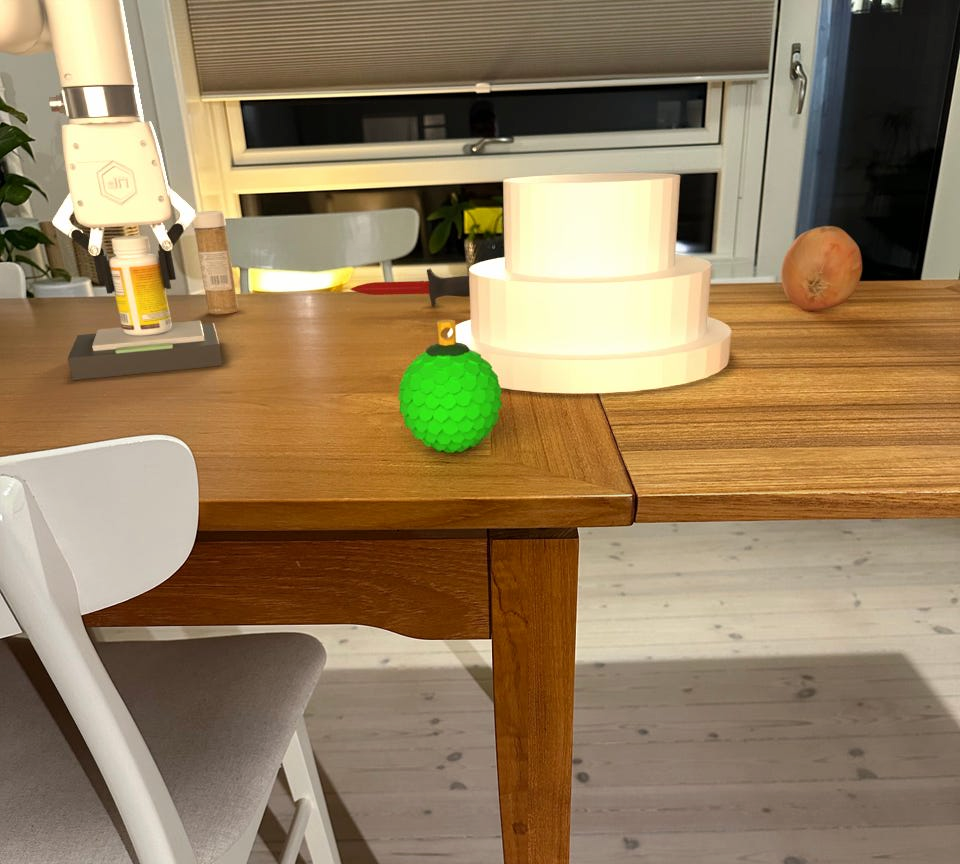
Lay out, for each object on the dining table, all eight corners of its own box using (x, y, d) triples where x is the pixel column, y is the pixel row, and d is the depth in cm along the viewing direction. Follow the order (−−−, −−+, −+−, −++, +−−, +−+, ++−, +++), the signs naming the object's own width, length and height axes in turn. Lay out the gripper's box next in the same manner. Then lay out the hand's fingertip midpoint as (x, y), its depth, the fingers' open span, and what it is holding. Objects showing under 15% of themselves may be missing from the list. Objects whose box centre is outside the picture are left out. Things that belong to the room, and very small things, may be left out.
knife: (514, 302, 137) (514, 265, 134) (514, 304, 135) (513, 267, 133) (352, 306, 139) (348, 270, 137) (350, 308, 138) (346, 271, 136)
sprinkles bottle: (242, 309, 141) (227, 209, 135) (235, 314, 137) (219, 212, 131) (211, 310, 141) (195, 211, 135) (203, 315, 137) (186, 213, 131)
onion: (852, 303, 126) (864, 221, 121) (859, 317, 118) (872, 229, 113) (776, 303, 128) (784, 223, 124) (777, 317, 120) (787, 231, 115)
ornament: (494, 432, 80) (490, 308, 76) (511, 461, 73) (508, 327, 69) (398, 440, 79) (388, 315, 75) (406, 470, 72) (396, 335, 68)
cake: (478, 404, 88) (470, 193, 80) (429, 342, 114) (419, 178, 106) (780, 378, 93) (802, 175, 84) (667, 324, 119) (676, 165, 110)
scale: (72, 380, 104) (66, 352, 102) (82, 355, 116) (76, 329, 114) (222, 365, 107) (218, 338, 106) (216, 342, 119) (212, 317, 118)
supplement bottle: (181, 327, 113) (164, 234, 108) (159, 337, 108) (140, 239, 103) (137, 327, 114) (119, 235, 109) (114, 337, 109) (93, 240, 104)
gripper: (11, 110, 95) (56, 300, 103) (189, 104, 99) (218, 288, 107) (21, 111, 101) (62, 291, 110) (187, 106, 105) (215, 279, 114)
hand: (139, 287), depth 109 cm, fingers closed on supplement bottle, 5 cm apart
